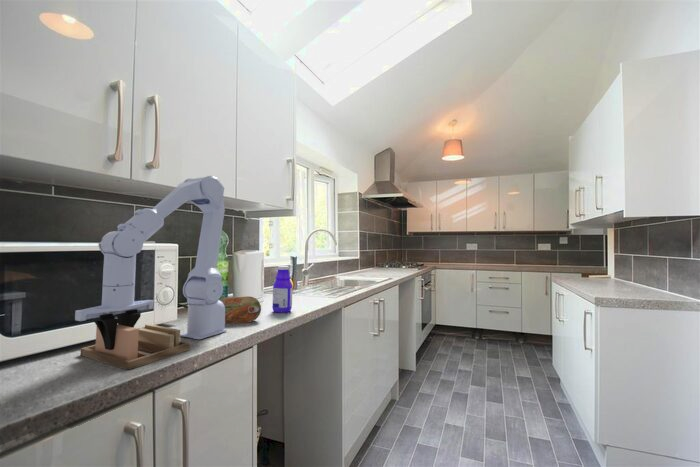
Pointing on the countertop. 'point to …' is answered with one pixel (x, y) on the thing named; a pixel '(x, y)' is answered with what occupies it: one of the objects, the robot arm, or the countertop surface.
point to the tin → (241, 309)
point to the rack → (142, 358)
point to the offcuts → (159, 335)
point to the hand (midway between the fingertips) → (116, 347)
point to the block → (121, 342)
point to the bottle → (282, 291)
